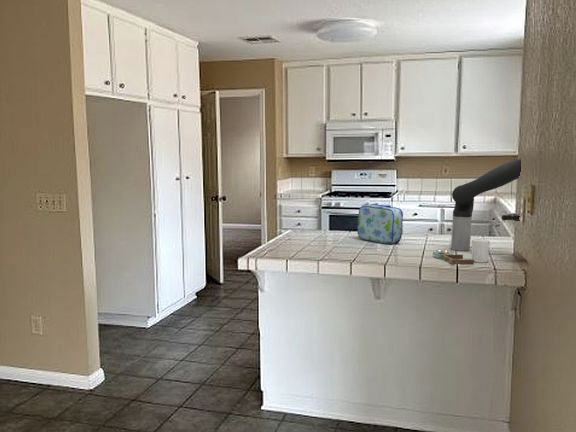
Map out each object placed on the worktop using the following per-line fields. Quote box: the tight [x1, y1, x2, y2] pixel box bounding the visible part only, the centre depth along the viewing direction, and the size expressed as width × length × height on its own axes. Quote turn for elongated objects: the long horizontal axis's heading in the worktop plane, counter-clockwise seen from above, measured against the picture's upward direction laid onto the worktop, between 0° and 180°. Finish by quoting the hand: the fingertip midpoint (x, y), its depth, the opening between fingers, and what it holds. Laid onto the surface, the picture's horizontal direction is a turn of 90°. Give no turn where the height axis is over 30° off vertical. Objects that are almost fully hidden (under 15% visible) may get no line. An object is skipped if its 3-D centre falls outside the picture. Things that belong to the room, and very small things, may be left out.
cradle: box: [441, 254, 475, 266], centre depth 239 cm, size 12×10×2 cm
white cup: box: [471, 238, 491, 264], centre depth 240 cm, size 8×8×10 cm
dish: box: [432, 251, 454, 260], centre depth 248 cm, size 7×7×2 cm
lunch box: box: [357, 203, 404, 245], centre depth 288 cm, size 26×11×21 cm, turn 42°
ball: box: [435, 249, 444, 254], centre depth 248 cm, size 3×3×3 cm
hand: (502, 217), depth 239 cm, fingers closed
